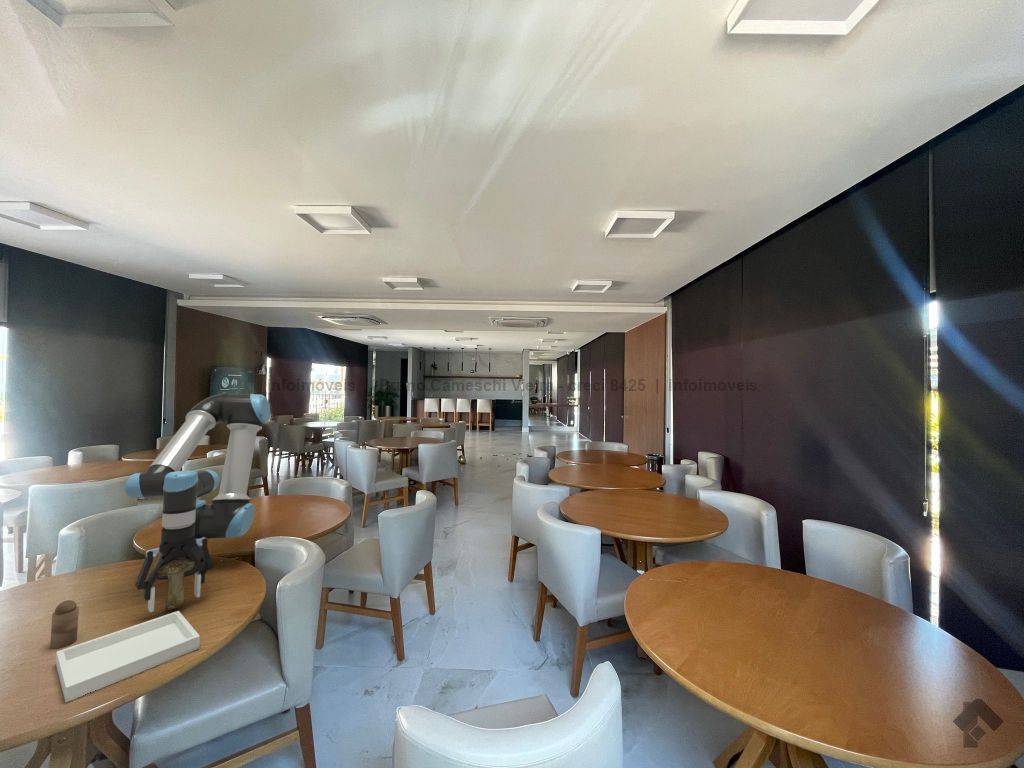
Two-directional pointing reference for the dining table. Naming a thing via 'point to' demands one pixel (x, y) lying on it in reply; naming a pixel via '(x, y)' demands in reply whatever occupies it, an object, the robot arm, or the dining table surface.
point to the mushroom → (175, 580)
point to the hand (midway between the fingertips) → (174, 602)
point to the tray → (123, 654)
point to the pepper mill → (64, 625)
